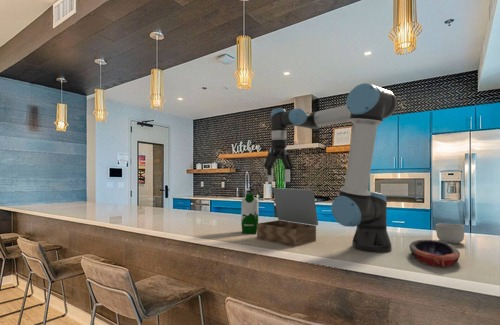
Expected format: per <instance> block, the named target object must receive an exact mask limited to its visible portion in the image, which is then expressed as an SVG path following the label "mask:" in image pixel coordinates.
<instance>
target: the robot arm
mask: <svg viewBox="0 0 500 325" xmlns="http://www.w3.org/2000/svg"><path fill="white" fill-rule="evenodd" d="M397 101H398V100H397V97H396V95H395V94H394V93H393V92H392V91H391V90H389V89H386V88H382V87H381V86H380V87H379V86H377V85H375V84H373V83H371V84H370V83H368V82H367V83H360V84H358V85H355V86H354V88H353V89H351V90H350V91H349V93H348V95H347V97H346V101H345V102H346V104H345V105H341V106H337V107H332V108H327V109H323V110H319V111H314V112H307V111H305V110H304V109H303V108H301V107H297V108H293V109H291V110H287V111H286V109H285V108H280V107H279V108H274V109H272V110H271V112H270V113H271V114H270V121H271V122H270V127H271V128H270V129H271V144H270V145H271V148H268V151H267V152H268V153H267V155H266V159H265V161H264V168H265V169H266V170H267V172H266V173H267V183H274V168H273V167H274V165H275V163H276V161H277V159H278V160H279V159H280V160H281V162H282V164H283V166H284V168H285V169H284V182H285V183H290V182H291V170H292V169H293V168H294V166H293V162H292V158H291V156H290V150H288V149H286V148H287V127H299V128H300V127H301V128H307V129H310V130H318V129H320V128H321V127H326V126H332V125H337V124H344V123H350V122H351V123H352V129H351V130H352V132H351V138H350V144H349V149H348V159H347V164H346V173H345V179H344V185H343V186H342V187H340V188H339V192H338V193H339V194H338V196H337V197H336V198H335V199H333V201H332V203H331V214H332V216H333V218H334V220H335V221H336V222H337V223H338V224H339V225H341V226H343V227H347V228H349V227H351V228H355V227H356V229H355V231H354V232H355V233H354V235H353V237H352V240H351V241H352V243H351V245H352V246H351V247H352V248H354V249H356V250H359V251H363V252H370V253H388V252H391V251H392V249H393V248H392V243H391V240H390V236H389V233H388V231H387V230H388V228H387V224H388V223H387V222H388V221H387V218H388V216H387V205H388V202H387V196H386V194H384V193H380V192H374V191H369V182H370V176H371V169H372V162H373V158H374V157H373V156H374V150H375V145H376V144H375V142H376V137H377V130H378V127H379V125H381V124H383V120H385V119H387V118H389V117H391V116H392V115H393V114H394V113H395V111H396V109H397V104H398V103H397Z"/></svg>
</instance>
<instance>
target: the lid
mask: <svg viewBox="0 0 500 325" xmlns="http://www.w3.org/2000/svg"><path fill="white" fill-rule="evenodd" d="M272 191H273V197H274V203H275V208H276V209H275V210H276V216H277V220H281V221H288V222H294V223H301V224H308V225H314V226H318V225H319V220H318V215H317V214H318V213H317V208H316V200H315V194H314V189H306V188H304V189H303V188H285V187H273V188H272Z"/></svg>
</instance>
